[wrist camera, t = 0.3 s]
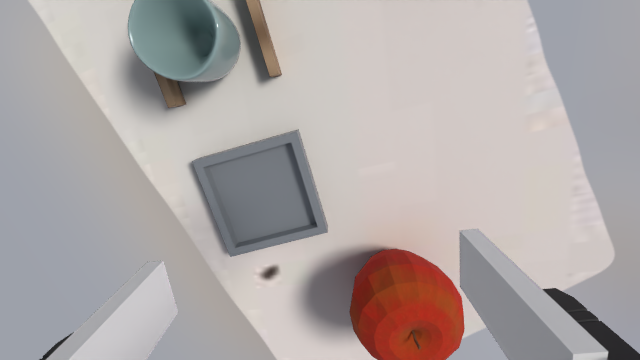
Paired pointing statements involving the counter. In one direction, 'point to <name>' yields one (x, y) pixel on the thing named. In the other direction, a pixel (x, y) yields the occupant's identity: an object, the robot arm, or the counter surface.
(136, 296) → the robot arm
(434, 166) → the counter surface
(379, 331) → the apple
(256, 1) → the dock rails
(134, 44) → the cup
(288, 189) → the dock cradle
